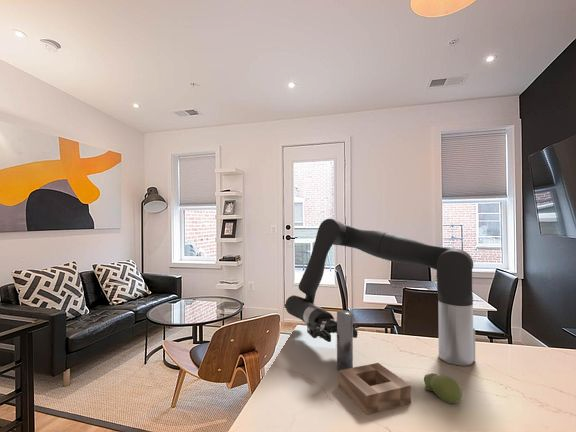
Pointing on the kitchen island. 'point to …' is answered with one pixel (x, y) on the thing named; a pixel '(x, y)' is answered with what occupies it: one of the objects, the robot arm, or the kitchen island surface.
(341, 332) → the pin
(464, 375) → the kitchen island surface
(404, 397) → the socket block
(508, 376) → the kitchen island surface
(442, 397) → the green rounded lump
